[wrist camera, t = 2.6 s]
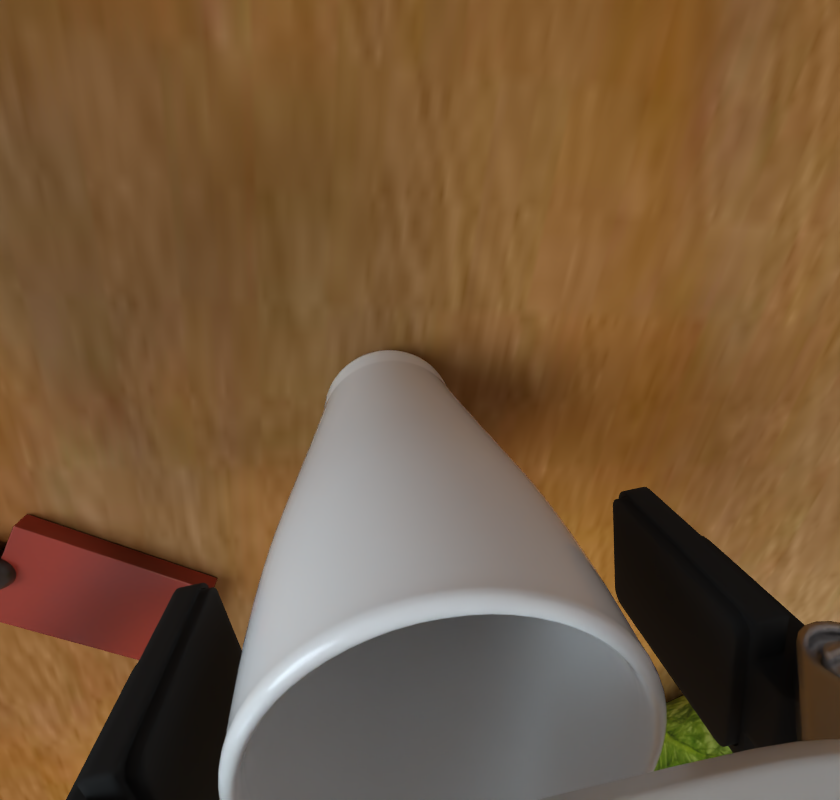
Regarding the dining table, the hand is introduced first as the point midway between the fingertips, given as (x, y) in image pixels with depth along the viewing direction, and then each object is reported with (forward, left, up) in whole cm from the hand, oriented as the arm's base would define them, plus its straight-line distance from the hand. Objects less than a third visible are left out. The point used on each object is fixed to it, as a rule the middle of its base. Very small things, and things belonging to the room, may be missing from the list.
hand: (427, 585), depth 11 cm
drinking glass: (0, 0, -11) cm, 11 cm away
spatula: (+3, -19, -11) cm, 22 cm away
